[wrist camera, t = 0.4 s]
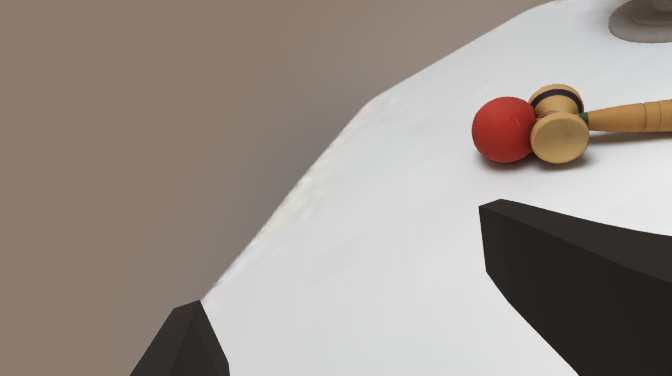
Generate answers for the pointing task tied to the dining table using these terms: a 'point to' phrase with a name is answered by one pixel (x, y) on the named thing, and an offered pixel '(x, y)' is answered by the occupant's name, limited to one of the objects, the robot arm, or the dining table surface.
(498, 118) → the kendama
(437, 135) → the dining table surface
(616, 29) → the mate gourd
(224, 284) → the dining table surface
